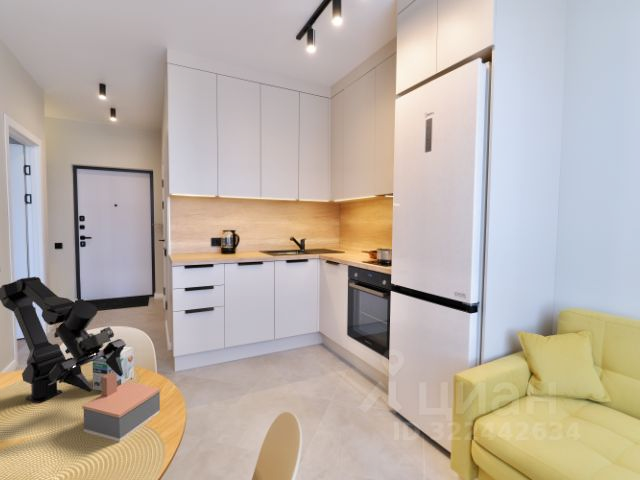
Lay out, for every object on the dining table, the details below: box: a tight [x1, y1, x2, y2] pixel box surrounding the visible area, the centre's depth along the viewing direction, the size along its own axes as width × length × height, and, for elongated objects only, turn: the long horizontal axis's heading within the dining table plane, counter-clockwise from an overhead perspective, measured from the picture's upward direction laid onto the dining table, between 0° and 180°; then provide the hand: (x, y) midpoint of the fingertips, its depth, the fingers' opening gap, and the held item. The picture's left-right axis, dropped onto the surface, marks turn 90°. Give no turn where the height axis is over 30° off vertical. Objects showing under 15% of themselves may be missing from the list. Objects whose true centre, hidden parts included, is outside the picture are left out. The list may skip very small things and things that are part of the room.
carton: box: [83, 391, 161, 443], centre depth 88 cm, size 12×13×6 cm
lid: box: [81, 372, 162, 418], centre depth 88 cm, size 12×13×6 cm
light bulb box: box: [92, 346, 135, 392], centre depth 109 cm, size 11×7×11 cm, turn 168°
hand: (107, 382), depth 90 cm, fingers open, 9 cm apart
